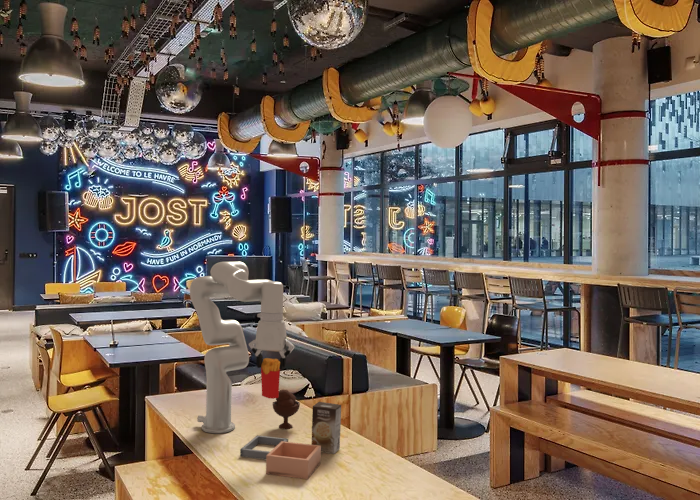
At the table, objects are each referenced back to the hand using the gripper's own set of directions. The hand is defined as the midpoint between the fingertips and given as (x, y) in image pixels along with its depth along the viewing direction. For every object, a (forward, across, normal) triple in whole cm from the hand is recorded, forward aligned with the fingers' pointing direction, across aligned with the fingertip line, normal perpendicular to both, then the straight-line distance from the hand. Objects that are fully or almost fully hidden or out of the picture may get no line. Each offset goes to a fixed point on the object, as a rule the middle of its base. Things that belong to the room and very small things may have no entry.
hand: (271, 367), depth 217 cm
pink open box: (+30, +12, -10) cm, 34 cm away
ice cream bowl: (+30, -5, +29) cm, 42 cm away
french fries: (+10, 0, 0) cm, 10 cm away
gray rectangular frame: (+30, -3, +2) cm, 30 cm away
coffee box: (+31, +17, +10) cm, 36 cm away
